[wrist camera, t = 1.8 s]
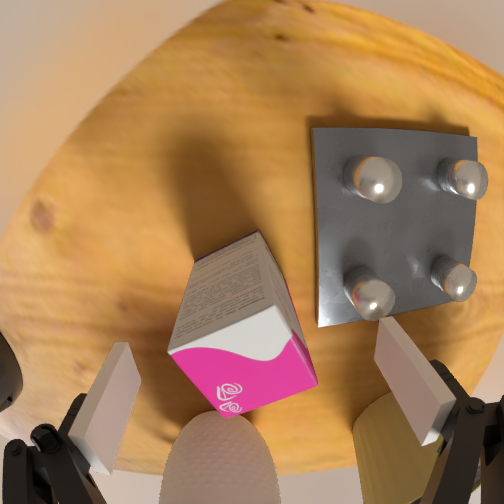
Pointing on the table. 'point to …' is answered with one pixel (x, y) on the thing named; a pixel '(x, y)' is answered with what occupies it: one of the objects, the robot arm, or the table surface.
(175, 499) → the mug
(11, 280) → the table surface
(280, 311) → the supplement box
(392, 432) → the potted cactus
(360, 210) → the chassis
